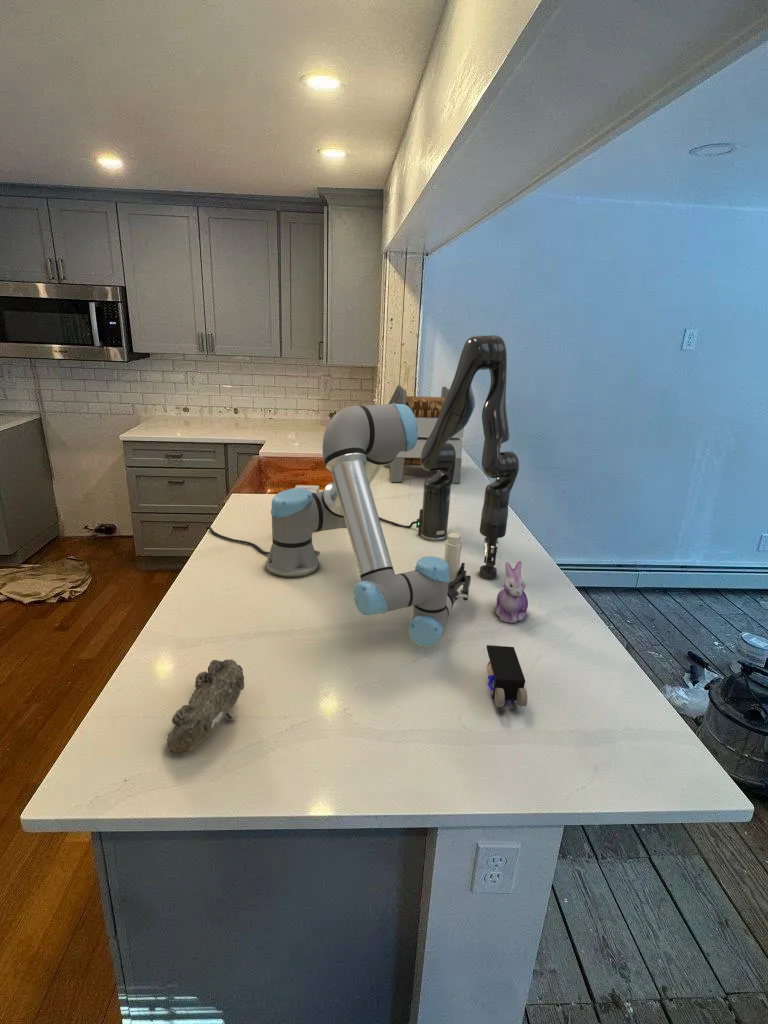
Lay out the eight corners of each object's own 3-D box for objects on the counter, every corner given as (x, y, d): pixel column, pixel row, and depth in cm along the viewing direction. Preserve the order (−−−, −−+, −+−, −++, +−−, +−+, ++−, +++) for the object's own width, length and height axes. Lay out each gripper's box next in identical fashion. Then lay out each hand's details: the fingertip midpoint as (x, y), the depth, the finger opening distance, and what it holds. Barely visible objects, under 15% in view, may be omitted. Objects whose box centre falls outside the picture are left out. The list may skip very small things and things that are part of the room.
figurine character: (526, 722, 112) (510, 670, 126) (532, 694, 109) (515, 643, 122) (492, 722, 112) (480, 669, 125) (498, 693, 109) (484, 642, 122)
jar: (459, 594, 159) (465, 535, 153) (450, 599, 156) (456, 539, 150) (447, 589, 162) (452, 531, 156) (438, 594, 159) (443, 535, 153)
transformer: (382, 463, 289) (386, 382, 275) (445, 464, 293) (451, 384, 279) (390, 482, 257) (394, 392, 243) (460, 483, 261) (468, 394, 247)
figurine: (509, 627, 143) (516, 574, 138) (485, 609, 151) (491, 558, 146) (538, 620, 147) (546, 567, 142) (512, 602, 156) (519, 552, 151)
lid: (476, 576, 170) (477, 569, 170) (483, 570, 174) (483, 563, 174) (492, 581, 168) (493, 573, 167) (498, 575, 172) (499, 567, 171)
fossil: (192, 660, 117) (244, 628, 112) (224, 691, 120) (276, 661, 115) (142, 746, 98) (202, 712, 93) (182, 779, 101) (242, 748, 96)
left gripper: (402, 610, 144) (423, 572, 165) (470, 623, 139) (483, 582, 161) (404, 583, 141) (425, 548, 163) (473, 596, 137) (486, 558, 158)
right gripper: (480, 509, 172) (475, 558, 178) (481, 526, 159) (475, 578, 165) (505, 511, 171) (499, 560, 177) (508, 529, 158) (502, 581, 164)
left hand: (454, 565), depth 162 cm, fingers closed on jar, 4 cm apart
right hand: (488, 569), depth 171 cm, fingers open, 8 cm apart
